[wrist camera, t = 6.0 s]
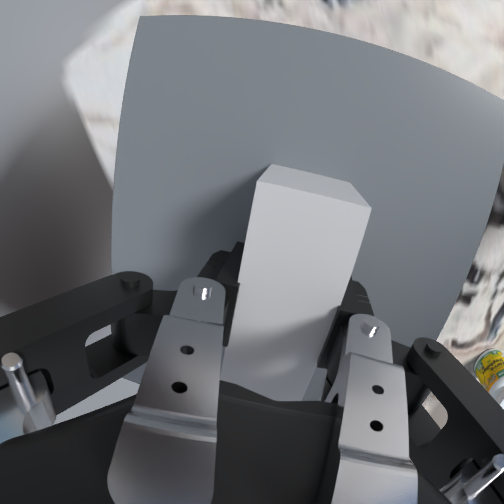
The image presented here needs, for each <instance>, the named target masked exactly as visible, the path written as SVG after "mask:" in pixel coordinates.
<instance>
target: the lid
mask: <svg viewBox="0 0 504 504" xmlns="http://www.w3.org/2000/svg"><path fill="white" fill-rule="evenodd" d="M503 165H504V100H502V99H501V98H499V97H497V96H495V95H494V94H492V93H490V92H488V91H486V90H484V89H482V88H480V87H478V86H476V85H474V84H472V83H470V82H468V81H466V80H464V79H462V78H460V77H458V76H456V75H454V74H451V73H449V72H447V71H445V70H442V69H440V68H438V67H435V66H433V65H430V64H428V63H426V62H423V61H420V60H418V59H415V58H413V57H410V56H407V55H404V54H402V53H399V52H396V51H393V50H390V49H387V48H384V47H381V46H377V45H374V44H371V43H368V42H364V41H361V40H357V39H353V38H350V37H346V36H342V35H338V34H334V33H329V32H325V31H320V30H316V29H311V28H306V27H300V26H295V25H289V24H283V23H276V22H269V21H262V20H253V19H244V18H233V17H219V16H196V15H162V16H140V18H139V22H138V26H137V30H136V35H135V39H134V43H133V48H132V53H131V58H130V63H129V68H128V73H127V79H126V84H125V90H124V96H123V103H122V110H121V117H120V124H119V133H118V141H117V151H116V161H115V173H114V187H113V205H112V207H113V208H112V237H111V271H112V272H111V273H112V275H113V274H116V273H119V272H123V271H135V272H140V273H143V274H146V275H148V276H149V277H150V278H151V279H152V281H153V290H166V291H176V290H178V289H179V286H180V284H181V282H182V281H184V280H186V279H188V278H193V277H197V276H198V274H199V273H200V271H201V270H202V269H203V267H204V266H205V264H206V263H207V261H208V260H209V258H210V257H211V255H212V254H213V253H215V252H218V251H220V250H224V251H228V252H231V251H232V250H233V248H234V246H235V244H236V242H237V241H239V242H243V243H245V246H244V251H243V256H242V262H241V267H240V272H239V278H238V282H239V283H240V287H239V292H238V297H237V303H236V308H235V313H234V318H233V324H232V329H231V334H230V339H229V344H228V347H224V346H222V355H221V368H220V380H222V381H226V382H230V383H234V384H237V385H240V386H242V387H244V388H246V389H249V390H251V391H253V392H256V393H258V394H260V395H263V396H265V397H267V398H270V399H272V400H276V401H318V399H319V395H320V390H321V386H322V382H323V380H324V378H325V376H326V373H327V369H324V368H318V367H317V361H318V358H319V356H320V353H321V351H322V348H323V346H324V343H325V341H326V338H327V336H328V333H329V330H330V328H331V325H332V322H333V320H334V317H335V314H336V312H337V309H338V306H339V305H341V302H342V299H343V297H344V294H345V291H346V288H347V285H348V282H349V279H350V277H352V280H353V281H358V282H359V283H360V284H361V285H362V286H363V287H364V288H365V289H366V292H367V295H368V298H369V301H370V304H371V307H372V310H373V313H374V316H375V317H376V318H378V319H380V320H381V321H383V322H384V323H385V324H386V325H387V326H388V327H389V329H390V332H391V340H393V341H395V342H398V343H400V344H403V345H405V346H408V347H411V346H412V344H413V342H414V340H415V339H417V338H420V337H426V338H430V339H433V340H435V341H436V340H437V338H438V336H439V334H440V332H441V330H442V328H443V326H444V324H445V323H446V321H447V319H448V317H449V314H450V312H451V310H452V308H453V306H454V304H455V302H456V300H457V298H458V295H459V293H460V291H461V289H462V287H463V284H464V282H465V280H466V277H467V275H468V273H469V270H470V268H471V265H472V263H473V260H474V258H475V255H476V252H477V250H478V247H479V244H480V242H481V239H482V236H483V233H484V230H485V227H486V224H487V221H488V218H489V215H490V212H491V209H492V206H493V202H494V199H495V195H496V192H497V188H498V185H499V181H500V177H501V173H502V169H503ZM146 364H147V362H146V363H145V364H143V365H141V366H140V367H138V368H136V369H135V370H133V371H131V372H130V373H128V374H126V375H125V376H123V377H122V378H125V379H127V380H130V381H133V382H136V383H138V384H140V383H141V379H142V376H143V373H144V370H145V367H146Z"/></svg>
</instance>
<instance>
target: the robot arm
mask: <svg viewBox="0 0 504 504" xmlns="http://www.w3.org/2000/svg"><path fill="white" fill-rule="evenodd" d="M244 246H245V243H243V242H239V241H237V242H236V244H235V246H234V248H233V250H232V251H231V252H228V251H224V250H220V251H218V252H215V253H213V254H212V255H211V257H210V258H209V260H208V261H207V263H206V264H205V266H204V267H203V269H202V270H201V271H200V273H199V274H198V276H197V277H193V278H188V279H186V280H184V281H182V282H181V284H180V286H179V289H178V290H176V291H166V290H153V281H152V279H151V278H150V277H149V276H148V275H146V274H143V273H140V272H135V271H123V272H119V273H116V274H113V275H110V276H108V277H105V278H102V279H99V280H97V281H94V282H91V283H89V284H86V285H83V286H81V287H78V288H75V289H72V290H70V291H67V292H65V293H62V294H59V295H57V296H54V297H51V298H49V299H46V300H43V301H41V302H38V303H36V304H33V305H31V306H28V307H25V308H23V309H20V310H18V311H15V312H12V313H10V314H7V315H5V316H2V317H0V504H504V409H503V408H502V407H501V406H500V405H499V404H498V403H497V401H496V400H495V399H494V398H493V397H492V396H491V395H490V394H489V393H488V392H487V391H486V389H485V388H484V387H483V386H482V385H481V384H480V383H479V382H478V381H477V380H476V379H475V378H474V377H473V376H472V374H471V373H470V372H469V371H468V370H467V369H466V368H465V367H464V366H463V365H462V364H461V363H460V362H459V361H458V360H457V359H456V358H455V357H454V356H453V355H452V354H451V353H450V352H449V351H448V350H447V349H446V348H445V347H444V346H443V345H442V344H440V343H439V342H437V341H435V340H433V339H430V338H426V337H420V338H417V339H415V340H414V342H413V344H412V346H411V347H408V346H405V345H403V344H400V343H398V342H395V341H393V340H391V332H390V329H389V327H388V326H387V325H386V324H385V323H384V322H383V321H381V320H380V319H378V318H376V317H375V316H374V313H373V310H372V307H371V304H370V301H369V298H368V295H367V292H366V289H365V288H364V287H363V286H362V285H361V284H360V283H359V282H358V281H353V280H352V277H350V279H349V282H348V285H347V288H346V291H345V294H344V297H343V299H342V302H341V305H339V306H338V309H337V312H336V314H335V317H334V320H333V322H332V325H331V328H330V330H329V333H328V336H327V338H326V341H325V343H324V346H323V348H322V351H321V353H320V356H319V358H318V361H317V367H318V368H324V369H327V373H326V376H325V378H324V380H323V382H322V386H321V390H320V395H319V399H318V401H276V400H272V399H270V398H267V397H265V396H263V395H260V394H258V393H256V392H253V391H251V390H249V389H246V388H244V387H242V386H240V385H237V384H234V383H230V382H226V381H222V380H220V368H221V355H222V346H224V347H228V344H229V339H230V334H231V329H232V324H233V318H234V313H235V308H236V303H237V297H238V292H239V287H240V283H239V282H238V278H239V272H240V267H241V262H242V256H243V251H244ZM110 324H111V332H112V334H111V335H109V336H107V337H105V338H103V339H101V340H99V341H97V342H95V343H93V344H91V345H89V346H87V347H85V342H86V340H87V338H88V337H89V335H90V334H92V333H93V332H95V331H97V330H99V329H101V328H103V327H105V326H107V325H110ZM146 362H147V364H146V367H145V370H144V373H143V376H142V379H141V383H140V386H139V389H138V392H137V394H136V395H133V396H131V397H128V398H126V399H123V400H121V401H118V402H116V403H113V404H111V405H108V406H105V407H103V408H100V409H98V410H95V411H92V412H90V413H87V414H84V415H81V416H78V417H76V418H73V419H70V420H67V421H64V422H61V423H59V424H55V425H53V424H54V422H55V420H56V415H58V414H60V413H61V412H63V411H65V410H67V409H68V408H70V407H72V406H73V405H75V404H77V403H78V402H80V401H82V400H84V399H86V398H87V397H89V396H91V395H93V394H94V393H96V392H98V391H99V390H101V389H103V388H104V387H106V386H108V385H110V384H111V383H113V382H115V381H116V380H118V379H120V378H121V377H123V376H125V375H126V374H128V373H130V372H131V371H133V370H135V369H136V368H138V367H140V366H141V365H143V364H145V363H146ZM430 392H432V393H433V394H434V395H435V396H436V398H437V399H438V400H439V401H440V402H441V404H442V405H443V406H444V407H445V409H446V410H447V413H448V420H447V423H446V425H445V426H444V427H443V428H442V429H440V428H439V426H438V425H437V424H436V422H435V421H434V420H433V419H432V417H431V416H430V415H429V413H428V412H427V411H426V410H425V408H424V407H423V406H422V403H423V402H424V400H425V399H426V398H427V396H428V395H429V393H430ZM409 457H410V459H411V460H412V462H413V463H414V464H413V463H412V462H411V461H410V460H409Z"/></svg>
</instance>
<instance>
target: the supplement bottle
mask: <svg viewBox="0 0 504 504" xmlns="http://www.w3.org/2000/svg"><path fill="white" fill-rule="evenodd" d="M474 371H475V373H476V375H477V377H478V379H479V381H480V383H481V385H482V386H483V387H484V388H485V389H486V391H487V392H488V393H489V394H490V395H491V396H492V397H493V398H494V399H495V400H496V401H497V403H498V404H499V405H500V406H501V407H502V408H503V409H504V356H503V354H502V353H501V352H500V350H498V349H489V350H487V351H485V352H484V353H483V354H481V355H480V357H479V358H478V359H477V361H476V363H475V366H474Z"/></svg>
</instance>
